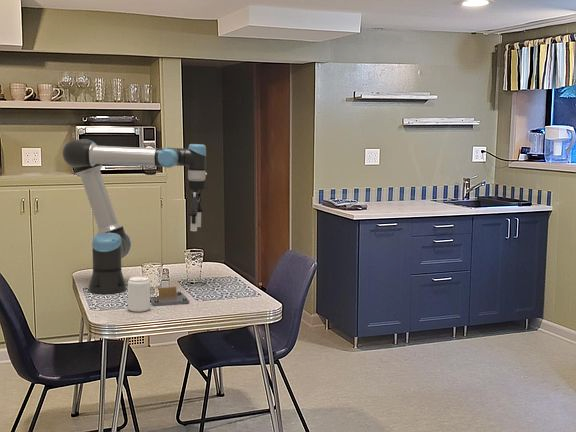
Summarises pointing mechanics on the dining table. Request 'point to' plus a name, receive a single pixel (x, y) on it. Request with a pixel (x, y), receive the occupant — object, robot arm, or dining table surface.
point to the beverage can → (138, 294)
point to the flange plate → (169, 297)
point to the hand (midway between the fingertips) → (195, 229)
